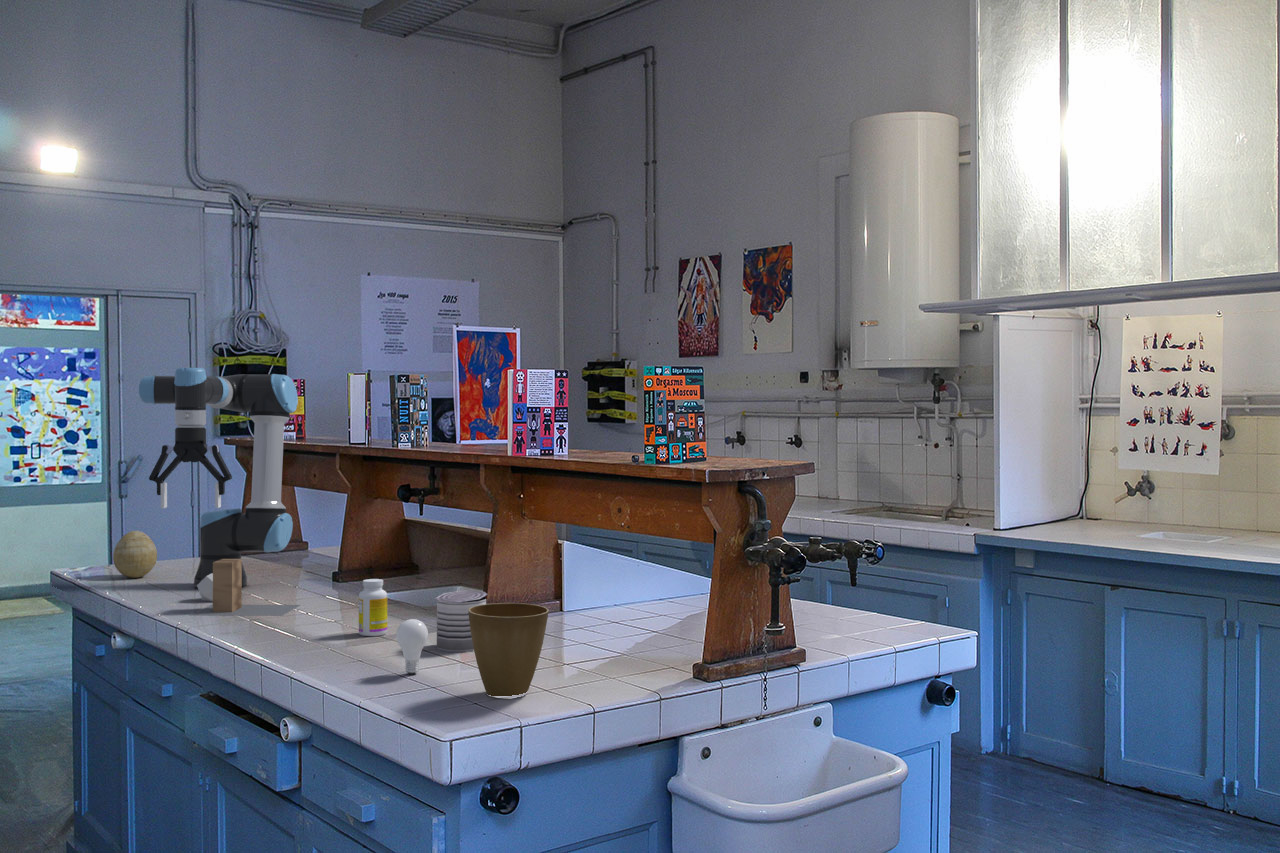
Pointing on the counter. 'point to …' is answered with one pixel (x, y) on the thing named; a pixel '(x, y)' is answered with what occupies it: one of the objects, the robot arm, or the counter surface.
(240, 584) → the label block
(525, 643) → the plant pot
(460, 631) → the can
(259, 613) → the mat
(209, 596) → the die
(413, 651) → the lightbulb
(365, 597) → the supplement bottle
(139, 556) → the fossilized egg
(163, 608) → the counter surface
